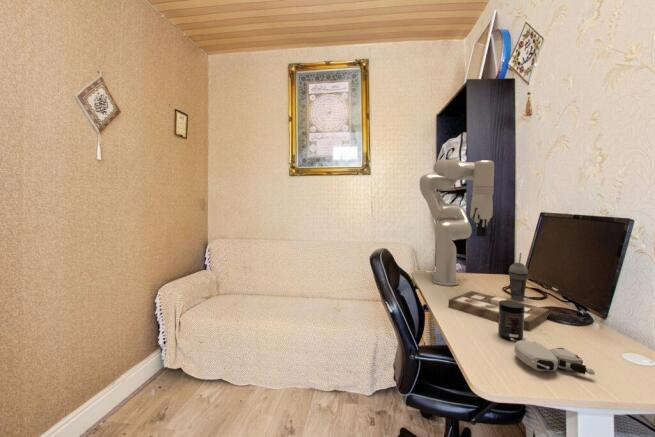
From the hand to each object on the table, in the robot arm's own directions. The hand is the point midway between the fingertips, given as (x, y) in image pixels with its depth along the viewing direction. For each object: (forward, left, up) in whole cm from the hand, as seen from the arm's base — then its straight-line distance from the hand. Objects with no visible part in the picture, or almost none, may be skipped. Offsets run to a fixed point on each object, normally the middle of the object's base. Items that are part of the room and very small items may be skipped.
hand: (481, 236), depth 126 cm
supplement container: (+22, -26, -27) cm, 44 cm away
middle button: (+10, -6, -25) cm, 28 cm away
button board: (+10, -8, -27) cm, 30 cm away
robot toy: (+35, -36, -28) cm, 57 cm away
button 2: (+18, -6, -26) cm, 32 cm away
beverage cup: (+9, +14, -27) cm, 32 cm away
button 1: (+2, -6, -26) cm, 27 cm away
